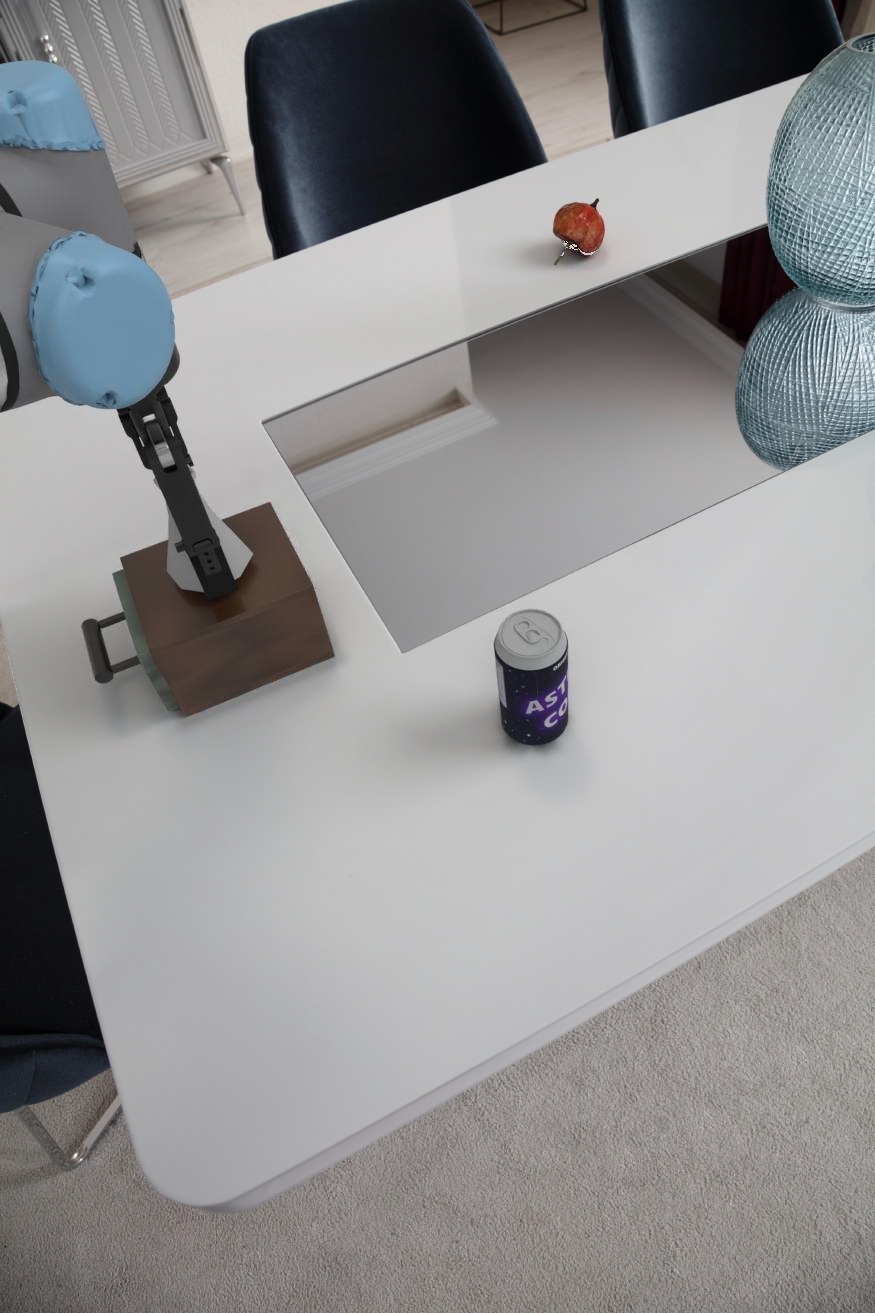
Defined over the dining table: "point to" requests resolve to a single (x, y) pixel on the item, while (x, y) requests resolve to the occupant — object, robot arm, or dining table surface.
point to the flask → (180, 562)
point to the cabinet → (230, 617)
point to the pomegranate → (579, 227)
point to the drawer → (100, 655)
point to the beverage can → (532, 676)
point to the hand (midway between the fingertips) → (209, 562)
